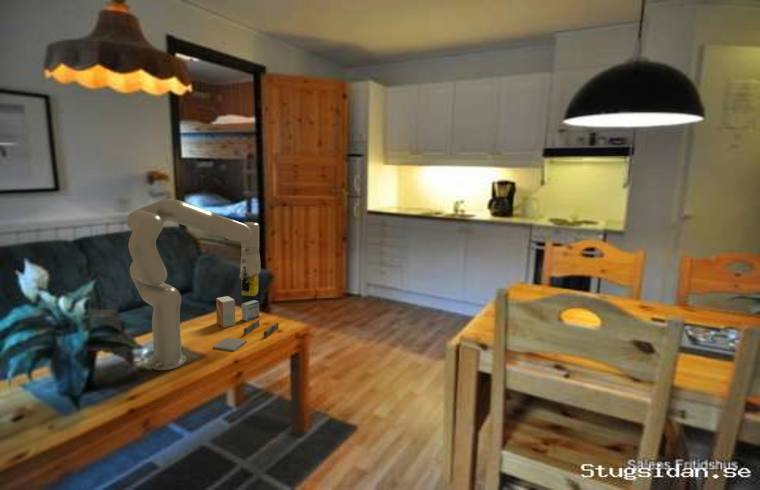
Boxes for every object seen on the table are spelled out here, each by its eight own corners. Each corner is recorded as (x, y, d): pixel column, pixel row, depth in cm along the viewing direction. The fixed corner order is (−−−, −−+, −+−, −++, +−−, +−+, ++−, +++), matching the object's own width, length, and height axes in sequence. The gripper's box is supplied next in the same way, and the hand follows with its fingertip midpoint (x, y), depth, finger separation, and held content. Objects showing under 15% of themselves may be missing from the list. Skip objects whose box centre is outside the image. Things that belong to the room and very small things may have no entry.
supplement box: (254, 297, 185) (254, 273, 183) (241, 296, 185) (241, 273, 183) (258, 294, 190) (258, 270, 189) (245, 293, 190) (245, 270, 189)
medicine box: (247, 321, 209) (247, 305, 207) (241, 319, 211) (241, 303, 209) (259, 317, 216) (259, 301, 214) (253, 315, 218) (253, 299, 216)
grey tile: (234, 351, 175) (234, 349, 175) (213, 348, 177) (213, 346, 177) (246, 342, 184) (246, 340, 184) (226, 339, 187) (226, 337, 186)
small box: (216, 323, 205) (215, 297, 203) (228, 320, 209) (228, 295, 207) (223, 328, 199) (222, 302, 197) (235, 325, 204) (235, 299, 201)
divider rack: (266, 337, 190) (266, 331, 189) (243, 334, 192) (243, 328, 192) (278, 328, 201) (278, 322, 201) (257, 325, 204) (257, 319, 203)
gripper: (247, 254, 175) (247, 294, 178) (267, 247, 192) (266, 285, 195) (231, 252, 177) (231, 292, 179) (252, 246, 193) (252, 283, 196)
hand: (250, 288), depth 187 cm, fingers closed on supplement box, 6 cm apart
